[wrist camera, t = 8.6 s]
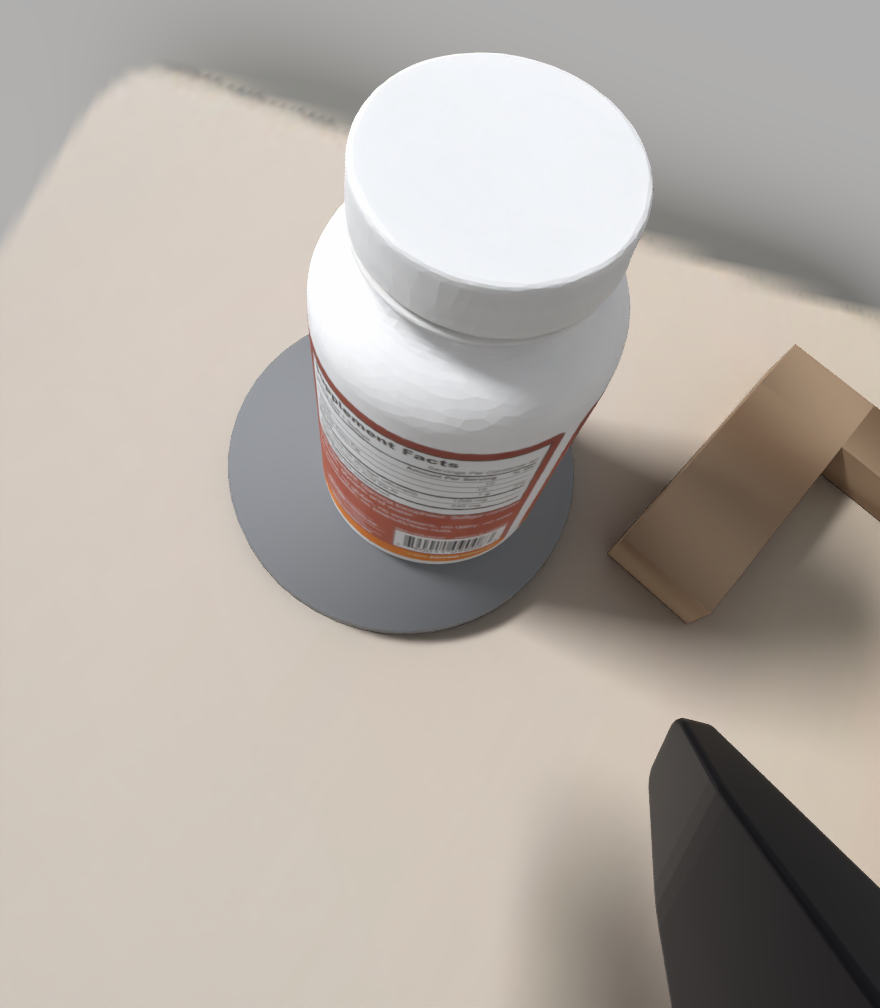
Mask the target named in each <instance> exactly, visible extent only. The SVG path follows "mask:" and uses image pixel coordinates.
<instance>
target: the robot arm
mask: <svg viewBox="0 0 880 1008" xmlns="http://www.w3.org/2000/svg"><path fill="white" fill-rule="evenodd" d="M649 804H650V822H651V840H652V858H653V876H654V892H655V904H656V912H657V920H658V927H659V933H660V939H661V945H662V951H663V957H664V963H665V969H666V975H667V981H668V987H669V993H670V999H671V1005H672V1008H880V888H879V887H878V886H877V885H876V884H875V883H874V882H873V881H872V880H871V879H870V878H869V877H868V876H867V875H866V874H865V873H864V872H863V871H862V870H861V869H860V868H859V867H858V866H856V865H855V864H854V863H853V862H852V861H851V860H850V859H849V858H848V857H847V856H846V855H845V854H844V853H843V852H842V851H841V850H840V849H839V848H838V847H837V846H836V845H835V844H834V843H833V842H832V841H831V840H830V839H829V838H828V837H827V836H825V835H824V834H823V833H822V832H821V831H820V830H819V829H818V828H817V827H816V826H815V825H814V824H813V823H812V822H811V821H810V820H809V819H808V818H807V817H806V816H805V815H804V814H803V813H802V812H801V811H800V810H799V809H798V808H797V807H796V806H795V805H793V804H792V803H791V802H790V801H789V800H788V799H787V798H786V797H785V796H784V795H783V794H782V793H781V792H780V791H779V790H778V789H777V788H776V787H775V786H774V785H773V784H772V783H771V782H770V781H769V780H768V779H767V778H766V777H765V776H764V775H762V774H761V773H760V772H759V771H758V770H757V769H756V768H755V767H754V766H753V765H752V764H751V763H750V762H749V761H748V760H747V759H746V758H745V757H744V756H743V755H742V754H741V753H740V752H739V751H738V750H737V749H736V748H735V747H734V746H733V745H731V744H730V743H729V742H728V741H727V740H726V739H725V738H724V737H723V736H722V735H721V734H720V733H719V732H718V731H717V730H716V729H715V728H714V727H713V726H711V725H709V724H706V723H702V722H697V721H693V720H689V719H685V718H680V719H677V720H675V722H674V723H673V724H672V725H671V727H670V729H669V731H668V733H667V735H666V738H665V740H664V742H663V744H662V746H661V748H660V750H659V753H658V755H657V757H656V759H655V761H654V763H653V766H652V768H651V772H650V776H649Z"/></svg>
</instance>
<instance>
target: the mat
mask: <svg viewBox="0 0 880 1008" xmlns="http://www.w3.org/2000/svg"><path fill="white" fill-rule="evenodd" d="M228 478H229V485H230V492H231V498H232V502H233V505H234V509H235V512H236V515H237V519H238V521H239V524H240V526H241V528H242V530H243V532H244V534H245V536H246V538H247V541H248V543H249V545H250V547H251V549H252V550H253V552H254V553H255V555H256V556H257V558H258V559H259V561H260V562H261V564H262V565H263V567H264V568H265V569H266V570H267V571H268V572H269V573H270V575H271V576H272V577H273V578H274V579H275V580H276V581H277V583H278V584H280V585H281V586H282V587H283V588H284V589H285V590H287V591H288V592H289V593H290V594H291V595H292V596H293V597H295V598H296V599H297V600H299V601H300V602H302V603H303V604H305V605H307V606H308V607H310V608H311V609H313V610H314V611H316V612H318V613H320V614H322V615H324V616H326V617H329V618H331V619H333V620H335V621H337V622H340V623H343V624H346V625H349V626H353V627H356V628H359V629H363V630H369V631H375V632H380V633H391V634H417V633H429V632H435V631H439V630H444V629H448V628H453V627H456V626H459V625H462V624H464V623H467V622H470V621H473V620H475V619H477V618H479V617H481V616H483V615H485V614H487V613H489V612H491V611H493V610H494V609H496V608H498V607H499V606H500V605H502V604H503V603H505V602H506V601H507V600H509V599H510V598H512V597H513V596H514V595H515V594H516V593H517V592H518V591H520V590H521V589H522V588H523V587H524V586H525V585H526V584H527V583H528V582H529V581H530V580H531V579H532V578H533V577H534V575H535V574H536V573H537V572H538V570H539V569H540V568H541V567H542V565H543V564H544V563H545V562H546V560H547V559H548V558H549V556H550V554H551V552H552V551H553V549H554V547H555V546H556V544H557V542H558V540H559V538H560V536H561V533H562V531H563V528H564V526H565V523H566V521H567V517H568V513H569V509H570V505H571V501H572V492H573V482H574V475H573V457H572V452H571V446H570V447H569V449H568V450H567V452H566V453H565V455H564V457H563V458H562V460H561V461H560V463H559V465H558V466H557V468H556V469H555V471H554V473H553V474H552V476H551V478H550V479H549V481H548V483H547V484H546V486H545V488H544V489H543V491H542V493H541V494H540V496H539V498H538V499H537V501H536V503H535V504H534V506H533V508H532V509H531V511H530V512H529V514H528V516H527V517H526V519H525V520H524V521H523V522H522V523H521V524H520V526H519V527H518V528H517V529H516V530H515V531H514V532H513V533H512V534H511V535H510V536H509V537H508V538H507V539H506V540H505V541H504V542H502V543H501V544H499V545H498V546H496V547H495V548H493V549H492V550H490V551H488V552H486V553H484V554H482V555H480V556H477V557H475V558H472V559H468V560H464V561H460V562H456V563H446V564H426V563H418V562H413V561H409V560H404V559H401V558H398V557H395V556H393V555H390V554H388V553H386V552H384V551H382V550H380V549H378V548H377V547H375V546H373V545H372V544H370V543H369V542H367V541H366V540H364V539H363V538H362V537H361V536H360V535H358V534H357V533H356V532H355V531H354V530H353V529H352V528H351V527H350V525H349V524H348V523H347V522H346V521H345V519H344V518H343V517H342V515H341V514H340V512H339V511H338V509H337V507H336V506H335V504H334V502H333V500H332V497H331V495H330V492H329V490H328V486H327V483H326V479H325V474H324V469H323V461H322V451H321V440H320V431H319V421H318V410H317V401H316V392H315V382H314V373H313V364H312V355H311V346H310V337H309V335H307V336H305V337H303V338H302V339H300V340H299V341H297V342H296V343H294V344H293V345H292V346H290V347H289V348H287V349H286V350H285V351H284V352H282V353H281V354H280V355H279V356H278V357H277V358H276V359H275V360H274V361H273V362H271V363H270V365H269V366H268V367H267V368H266V369H265V370H264V372H263V373H262V374H261V375H260V376H259V378H258V379H257V380H256V382H255V383H254V385H253V386H252V388H251V389H250V391H249V393H248V394H247V396H246V398H245V400H244V402H243V404H242V406H241V409H240V411H239V413H238V415H237V418H236V422H235V425H234V428H233V432H232V435H231V442H230V449H229V456H228Z"/></svg>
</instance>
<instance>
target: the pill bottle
mask: <svg viewBox="0 0 880 1008" xmlns="http://www.w3.org/2000/svg"><path fill="white" fill-rule="evenodd" d="M652 199H653V178H652V171H651V166H650V163H649V160H648V157H647V154H646V151H645V149H644V146H643V144H642V141H641V140H640V138H639V136H638V134H637V133H636V131H635V129H634V127H633V126H632V125H631V124H630V122H629V121H628V120H627V118H626V117H625V116H624V115H623V113H622V112H621V111H620V110H619V109H618V108H617V107H616V106H615V105H614V104H613V103H612V102H611V101H610V100H609V99H608V98H606V97H605V96H603V95H602V94H601V93H600V92H598V91H597V90H596V89H595V88H593V87H592V86H590V85H589V84H587V83H586V82H584V81H582V80H581V79H579V78H577V77H575V76H574V75H572V74H570V73H567V72H565V71H563V70H561V69H558V68H556V67H554V66H551V65H548V64H545V63H542V62H539V61H535V60H531V59H527V58H523V57H519V56H513V55H508V54H497V53H468V54H454V55H448V56H442V57H437V58H433V59H429V60H426V61H422V62H420V63H417V64H415V65H412V66H409V67H408V68H406V69H404V70H402V71H400V72H399V73H397V74H396V75H394V76H392V77H390V78H389V79H388V80H387V81H386V82H384V83H383V84H382V85H380V86H379V87H378V88H377V89H376V90H375V91H374V92H373V93H372V95H371V96H370V97H369V98H368V99H367V100H366V101H365V103H364V104H363V105H362V107H361V109H360V110H359V112H358V114H357V115H356V117H355V119H354V121H353V124H352V126H351V130H350V133H349V137H348V141H347V146H346V156H345V202H344V203H343V204H342V205H341V206H340V207H339V208H338V210H337V211H336V213H335V214H334V216H333V217H332V218H331V220H330V221H329V223H328V225H327V226H326V228H325V230H324V231H323V233H322V235H321V237H320V239H319V241H318V244H317V246H316V248H315V250H314V254H313V257H312V260H311V263H310V269H309V275H308V282H307V311H308V326H309V337H310V346H311V355H312V364H313V373H314V382H315V392H316V401H317V410H318V421H319V431H320V440H321V451H322V461H323V469H324V474H325V479H326V483H327V486H328V490H329V492H330V495H331V497H332V500H333V502H334V504H335V506H336V507H337V509H338V511H339V512H340V514H341V515H342V517H343V518H344V519H345V521H346V522H347V523H348V524H349V525H350V527H351V528H352V529H353V530H354V531H355V532H356V533H357V534H358V535H360V536H361V537H362V538H363V539H364V540H366V541H367V542H369V543H370V544H372V545H373V546H375V547H377V548H378V549H380V550H382V551H384V552H386V553H388V554H390V555H393V556H395V557H398V558H401V559H404V560H409V561H413V562H418V563H426V564H446V563H456V562H460V561H464V560H468V559H472V558H475V557H477V556H480V555H482V554H484V553H486V552H488V551H490V550H492V549H493V548H495V547H496V546H498V545H499V544H501V543H502V542H504V541H505V540H506V539H507V538H508V537H509V536H510V535H511V534H512V533H513V532H514V531H515V530H516V529H517V528H518V527H519V526H520V524H521V523H522V522H523V521H524V520H525V519H526V517H527V516H528V514H529V512H530V511H531V509H532V508H533V506H534V504H535V503H536V501H537V499H538V498H539V496H540V494H541V493H542V491H543V489H544V488H545V486H546V484H547V483H548V481H549V479H550V478H551V476H552V474H553V473H554V471H555V469H556V468H557V466H558V465H559V463H560V461H561V460H562V458H563V457H564V455H565V453H566V452H567V450H568V449H569V447H570V445H571V444H572V442H573V441H574V439H575V437H576V436H577V434H578V433H579V431H580V429H581V428H582V426H583V425H584V423H585V421H586V420H587V418H588V417H589V415H590V414H591V412H592V411H593V409H594V407H595V406H596V404H597V403H598V401H599V399H600V398H601V396H602V395H603V393H604V392H605V390H606V388H607V386H608V384H609V382H610V380H611V378H612V376H613V374H614V372H615V370H616V368H617V366H618V363H619V361H620V358H621V355H622V352H623V349H624V345H625V342H626V338H627V334H628V329H629V319H630V296H629V288H628V282H627V277H626V273H625V272H626V270H627V268H628V265H629V262H630V259H631V257H632V254H633V252H634V250H635V248H636V246H637V244H638V242H639V240H640V238H641V236H642V234H643V231H644V229H645V227H646V224H647V221H648V218H649V214H650V210H651V205H652Z"/></svg>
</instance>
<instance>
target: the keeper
mask: <svg viewBox="0 0 880 1008" xmlns="http://www.w3.org/2000/svg"><path fill="white" fill-rule="evenodd" d="M820 474H822V475H823V476H825V477H826V478H827V479H828V480H830V481H831V482H832V483H833V484H835V485H836V486H837V487H838V488H839V489H841V490H842V491H843V492H844V493H846V494H847V495H848V496H849V497H851V498H852V499H853V500H854V501H856V502H857V503H858V504H859V505H860V506H862V507H863V508H864V509H865V510H867V511H868V512H869V513H870V514H872V515H873V516H874V517H875V518H877V519H878V520H879V521H880V410H879V409H878V408H877V407H876V406H874V405H873V404H872V403H870V402H869V401H868V400H867V399H865V398H864V397H863V396H861V395H860V394H859V393H858V392H856V391H855V390H854V389H852V388H851V387H850V386H849V385H847V384H846V383H845V382H843V381H842V380H841V379H840V378H838V377H837V376H836V375H834V374H833V373H832V372H831V371H829V370H828V369H827V368H825V367H824V366H823V365H822V364H820V363H819V362H818V361H816V360H815V359H814V358H813V357H811V356H810V355H809V354H807V353H806V352H805V351H804V350H802V349H801V348H800V347H798V346H797V345H796V344H795V345H794V346H793V347H792V348H791V349H790V350H789V351H788V352H787V353H786V354H785V355H784V356H783V357H782V358H781V359H780V360H779V361H778V362H777V363H776V364H775V365H774V366H773V367H772V368H771V369H770V370H769V371H768V372H767V373H766V374H765V375H764V377H763V378H762V379H761V380H760V381H759V382H758V383H757V384H756V386H755V387H754V388H753V389H752V390H751V391H750V392H749V394H748V395H747V396H746V397H745V398H744V399H743V400H742V401H741V403H740V404H739V405H738V406H737V407H736V408H735V409H734V411H733V412H732V413H731V414H730V415H729V416H728V417H727V418H726V420H725V421H724V422H723V423H722V424H721V425H720V426H719V428H718V429H717V430H716V431H715V432H714V433H713V434H712V435H711V437H710V438H709V439H708V440H707V441H706V442H705V443H704V445H703V446H702V447H701V448H700V449H699V450H698V451H697V452H696V454H695V455H694V456H693V457H692V458H691V459H690V460H689V462H688V463H687V464H686V465H685V466H684V467H683V468H682V469H681V471H680V472H679V473H678V474H677V475H676V476H675V477H674V478H673V480H672V481H671V482H670V483H669V484H668V485H667V486H666V488H665V489H664V490H663V491H662V492H661V493H660V494H659V495H658V497H657V498H656V499H655V500H654V501H653V502H652V503H651V505H650V506H649V507H648V508H647V509H646V510H645V511H644V512H643V514H642V515H641V516H640V517H639V518H638V519H637V520H636V522H635V523H634V524H633V525H632V526H631V527H630V528H629V529H628V531H627V532H626V533H625V534H624V535H623V536H622V537H621V539H620V540H619V541H618V542H617V543H616V544H615V545H614V546H613V548H612V549H611V550H610V551H609V552H608V553H607V554H609V555H610V556H611V557H612V558H613V559H614V560H615V561H617V562H618V563H619V564H620V565H621V566H622V567H623V568H624V569H626V570H627V571H628V572H629V573H630V574H631V575H632V576H634V577H635V578H636V579H637V580H638V581H639V582H640V583H641V584H643V585H644V586H645V587H646V588H647V589H648V590H649V591H650V592H652V593H653V594H654V595H655V596H656V597H657V598H658V599H660V600H661V601H662V602H663V603H664V604H665V605H666V606H667V607H669V608H670V609H671V610H672V611H673V612H674V613H675V614H677V615H678V616H679V617H680V618H681V619H682V620H683V621H684V622H686V623H687V624H689V623H691V622H693V621H695V620H698V619H700V618H702V617H704V616H706V615H709V614H711V613H712V611H713V610H714V609H715V608H716V606H717V605H718V604H719V603H720V601H721V600H722V599H723V597H724V596H725V595H726V594H727V592H728V591H729V590H730V589H731V587H732V586H733V585H734V583H735V582H736V581H737V580H738V578H739V577H740V576H741V575H742V573H743V572H744V571H745V569H746V568H747V567H748V566H749V564H750V563H751V562H752V561H753V559H754V558H755V557H756V555H757V554H758V553H759V552H760V550H761V549H762V548H763V547H764V545H765V544H766V543H767V541H768V540H769V539H770V538H771V536H772V535H773V534H774V533H775V531H776V530H777V529H778V527H779V526H780V525H781V524H782V522H783V521H784V520H785V519H786V517H787V516H788V515H789V513H790V512H791V511H792V510H793V508H794V507H795V506H796V505H797V503H798V502H799V501H800V499H801V498H802V497H803V496H804V494H805V493H806V492H807V491H808V489H809V488H810V487H811V485H812V484H813V483H814V482H815V480H816V479H817V478H818V477H819V475H820Z"/></svg>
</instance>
